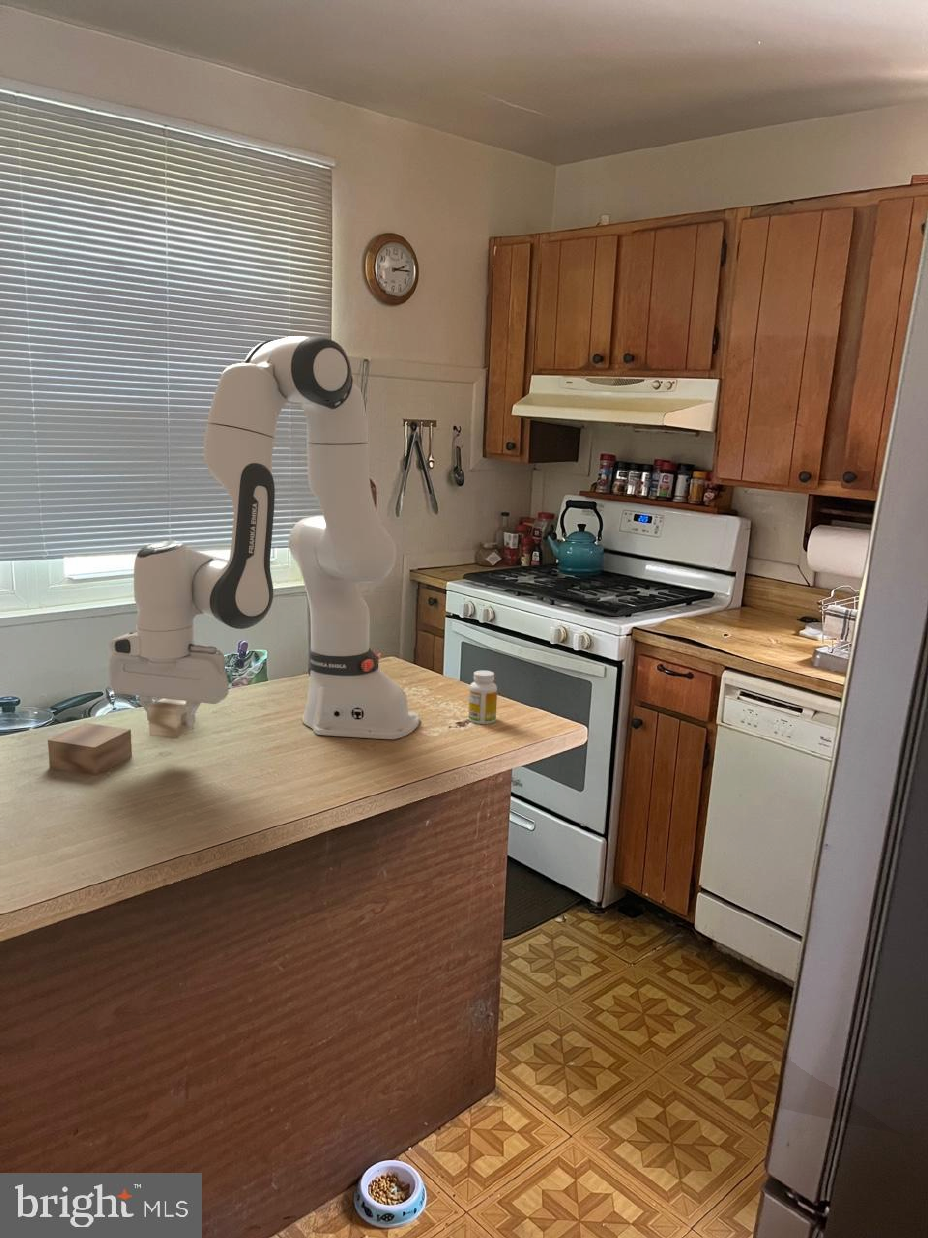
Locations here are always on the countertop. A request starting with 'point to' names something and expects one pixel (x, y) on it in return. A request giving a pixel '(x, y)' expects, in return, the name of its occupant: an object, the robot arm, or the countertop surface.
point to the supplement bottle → (483, 698)
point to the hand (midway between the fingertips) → (171, 722)
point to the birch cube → (167, 718)
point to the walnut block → (90, 748)
